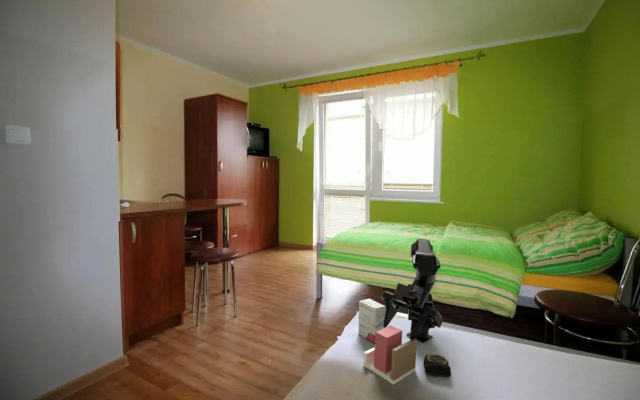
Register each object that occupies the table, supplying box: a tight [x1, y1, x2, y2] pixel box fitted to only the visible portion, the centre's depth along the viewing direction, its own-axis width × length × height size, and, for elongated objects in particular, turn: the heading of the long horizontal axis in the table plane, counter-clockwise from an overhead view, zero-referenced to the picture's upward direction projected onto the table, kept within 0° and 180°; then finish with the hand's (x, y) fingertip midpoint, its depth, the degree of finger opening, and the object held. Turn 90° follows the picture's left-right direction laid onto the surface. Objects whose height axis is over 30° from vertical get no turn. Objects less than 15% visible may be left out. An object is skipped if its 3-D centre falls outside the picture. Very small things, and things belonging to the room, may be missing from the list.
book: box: [374, 325, 403, 374], centre depth 88 cm, size 7×4×10 cm, turn 130°
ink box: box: [358, 298, 386, 344], centre depth 106 cm, size 9×5×12 cm, turn 33°
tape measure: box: [423, 353, 452, 378], centre depth 88 cm, size 7×7×4 cm
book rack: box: [363, 339, 418, 385], centre depth 88 cm, size 10×10×9 cm
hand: (396, 332), depth 90 cm, fingers open, 9 cm apart
